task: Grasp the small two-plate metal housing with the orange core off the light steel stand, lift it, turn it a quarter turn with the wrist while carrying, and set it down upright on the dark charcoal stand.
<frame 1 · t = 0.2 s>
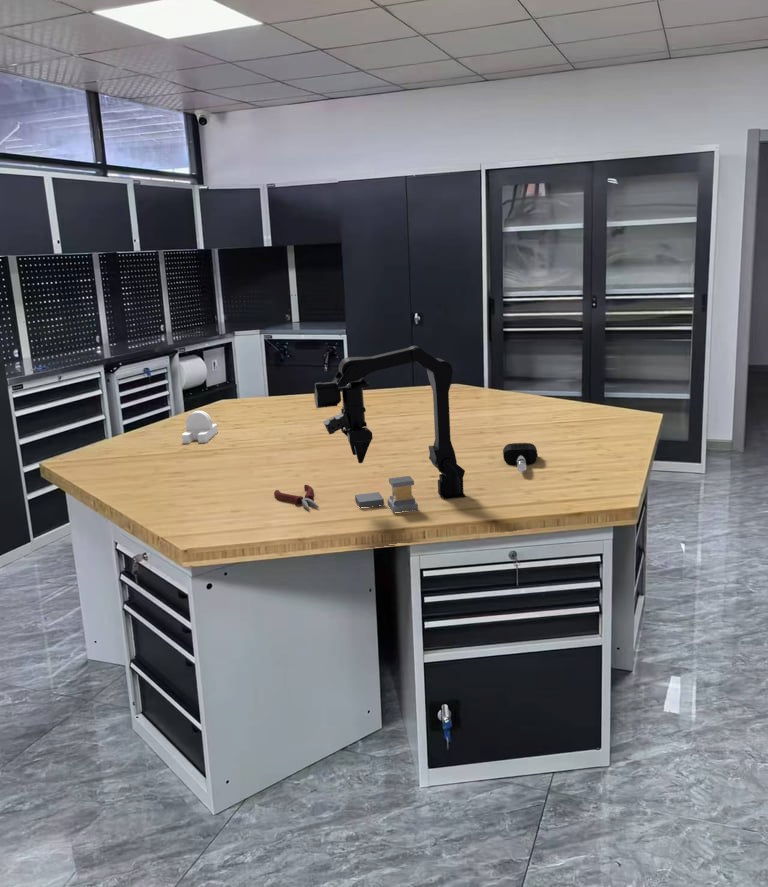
hand: (357, 458, 230), 14 cm above the workbench, fingers open, 9 cm apart
stand a: (402, 508, 230), on the workbench
pliers: (296, 503, 242), on the workbench
stand b: (369, 503, 236), on the workbench
housing: (402, 501, 230), point 2 cm above the workbench, touching stand a
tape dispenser: (200, 438, 328), on the workbench
audio adapter: (521, 467, 263), on the workbench
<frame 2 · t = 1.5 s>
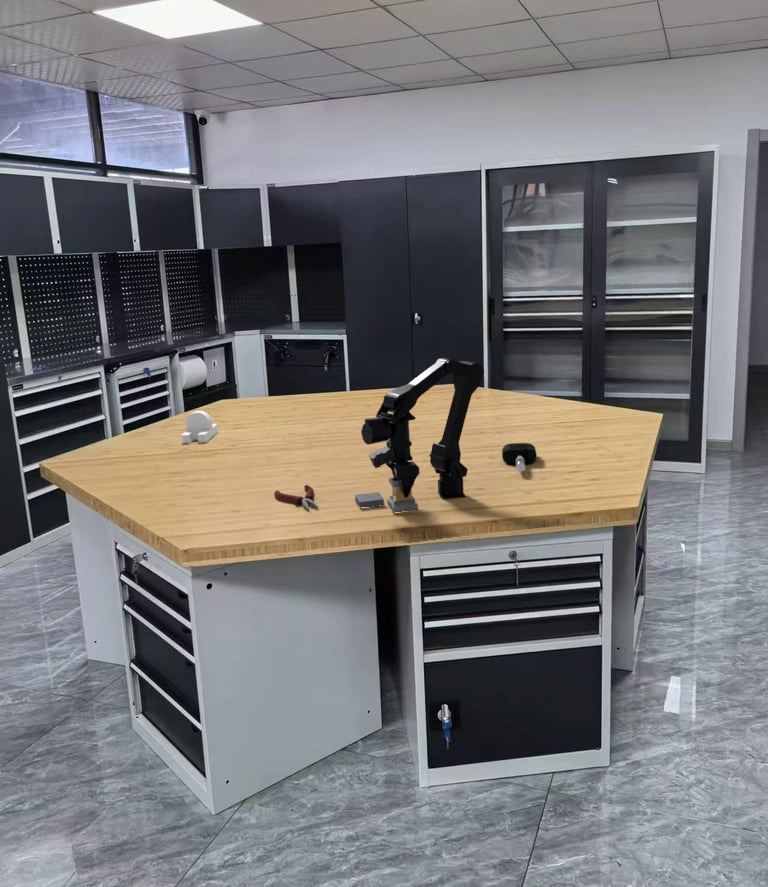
hand: (402, 492, 229), 5 cm above the workbench, fingers open, 9 cm apart
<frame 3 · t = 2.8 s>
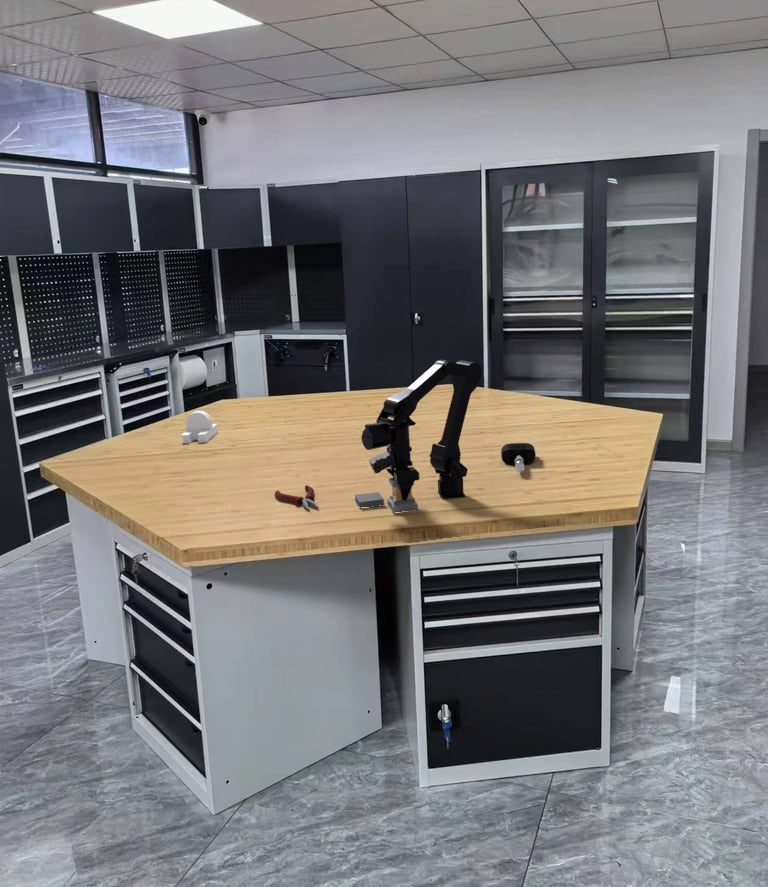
hand: (402, 497, 229), 3 cm above the workbench, fingers closed on housing, 5 cm apart
housing: (402, 501, 230), point 2 cm above the workbench, touching gripper, stand a
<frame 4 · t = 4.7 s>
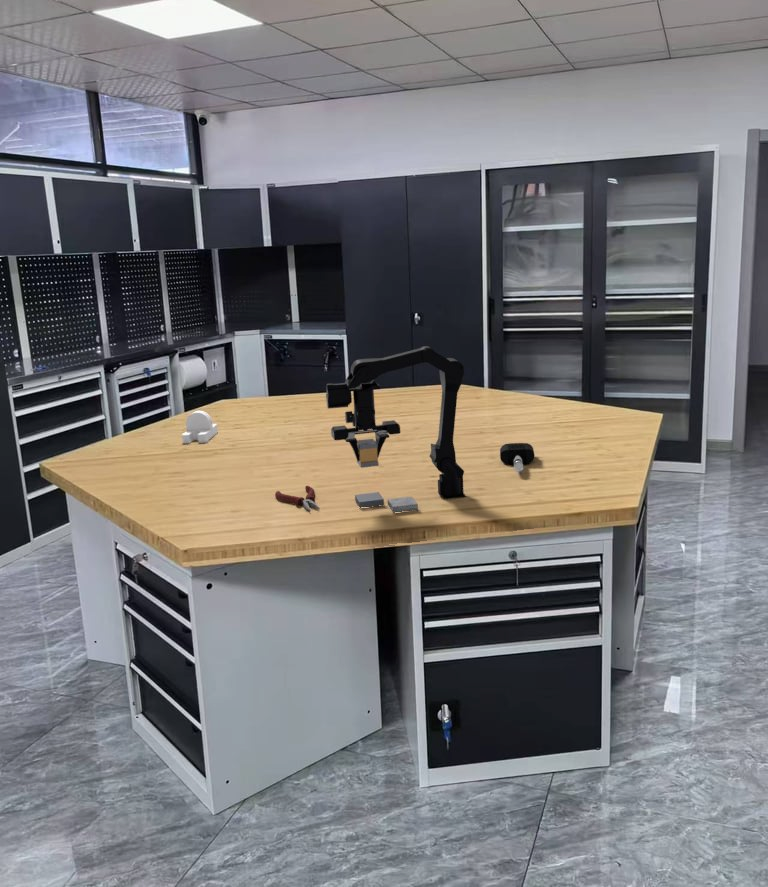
hand: (367, 459, 232), 13 cm above the workbench, fingers closed on housing, 5 cm apart
housing: (367, 464, 233), point 12 cm above the workbench, touching gripper
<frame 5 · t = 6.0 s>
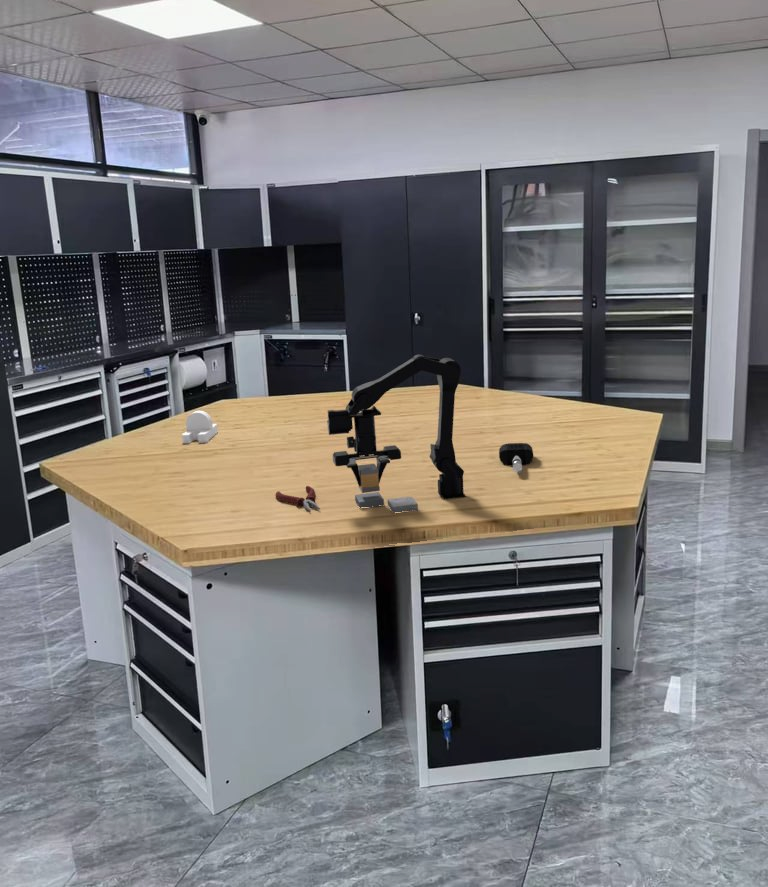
hand: (368, 484, 234), 6 cm above the workbench, fingers closed on housing, 5 cm apart
housing: (369, 488, 235), point 4 cm above the workbench, touching gripper
when the fingers open (4 cm above the workbench, at t = 7.1 s): housing drops 1 cm, resting on stand b.
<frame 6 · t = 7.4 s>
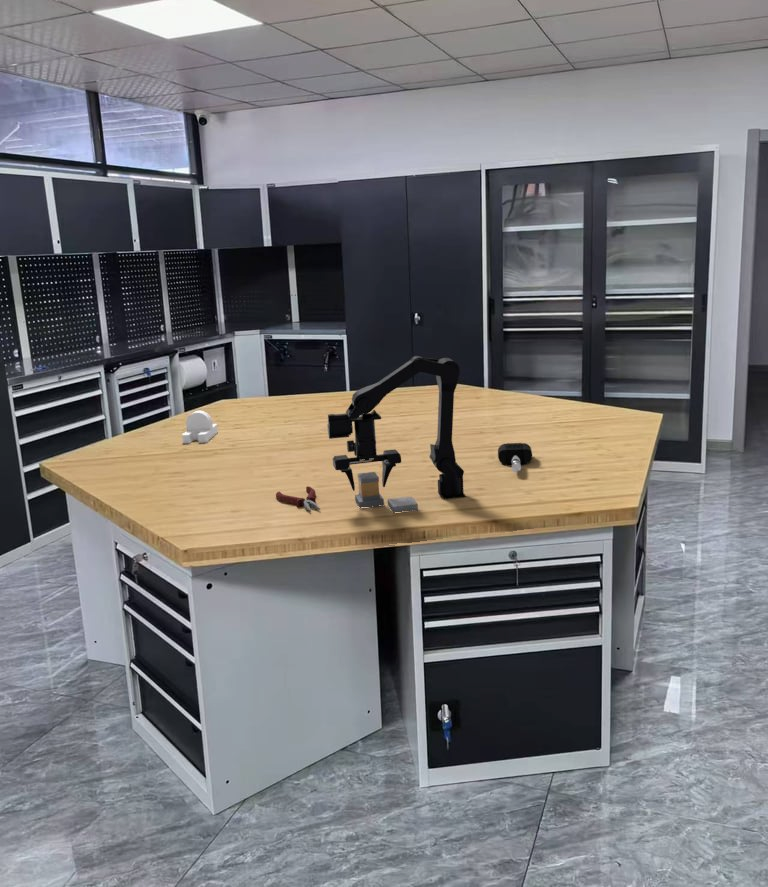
hand: (368, 488, 235), 4 cm above the workbench, fingers open, 8 cm apart
housing: (369, 496, 235), point 2 cm above the workbench, touching stand b
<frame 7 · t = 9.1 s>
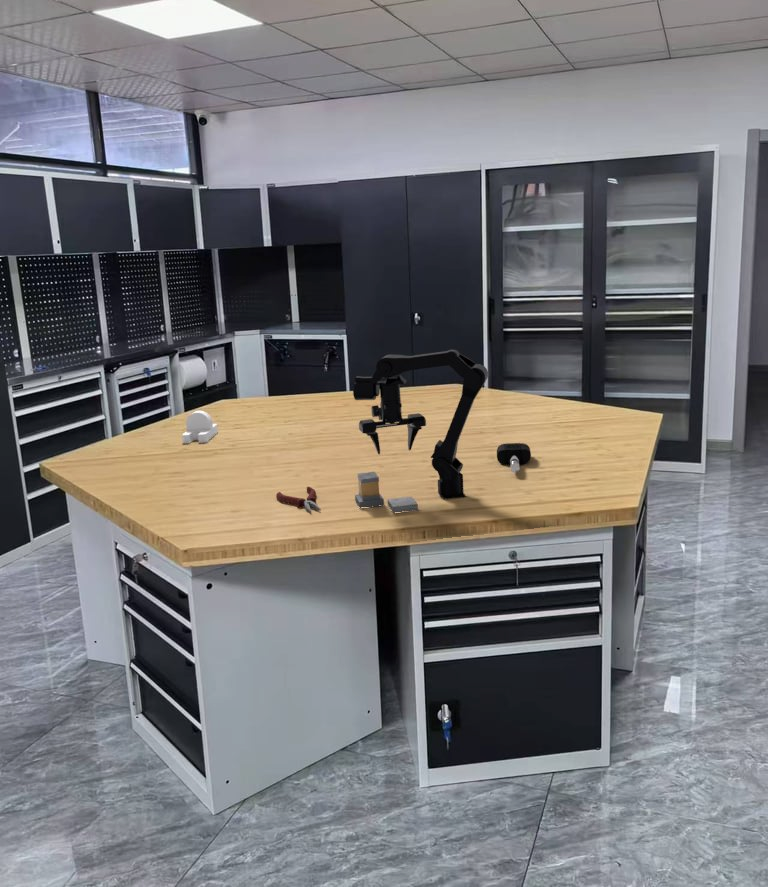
hand: (394, 452, 240), 13 cm above the workbench, fingers open, 9 cm apart
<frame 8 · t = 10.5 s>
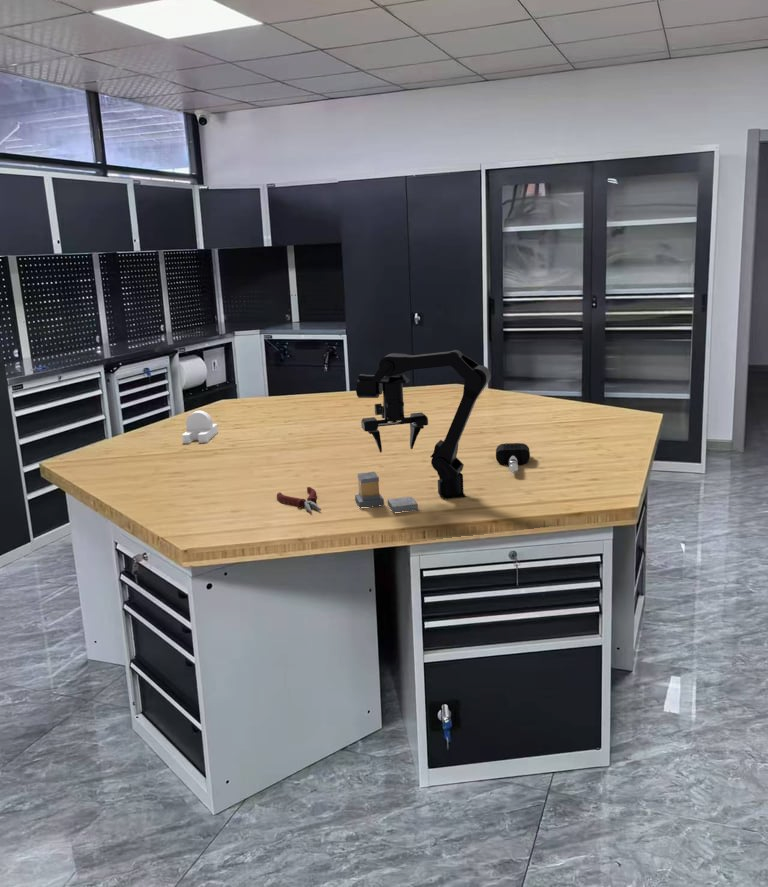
hand: (396, 450, 241), 13 cm above the workbench, fingers open, 9 cm apart
at the end: housing 0.1 cm off-centre on the stand b, point 2.0 cm above the stand b's base; housing tilted 0°; the gripper is holding nothing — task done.
